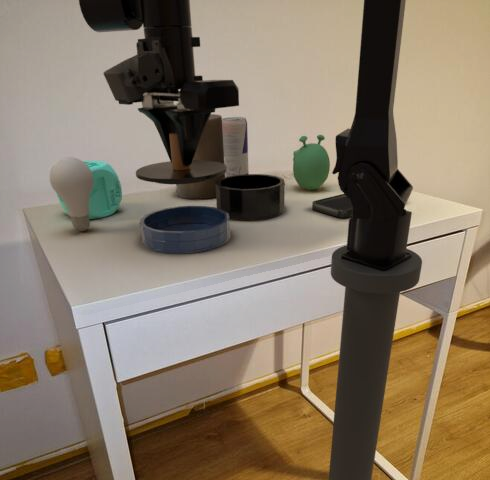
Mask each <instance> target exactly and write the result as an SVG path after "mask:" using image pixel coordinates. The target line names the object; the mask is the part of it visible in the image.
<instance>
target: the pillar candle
mask: <svg viewBox="0 0 490 480" xmlns="http://www.w3.org/2000/svg"><path fill="white" fill-rule="evenodd" d="M222 119H223V116H222V115H221V114H215V113H211V115H210V117H209V119H208V121H207V124H206V126H205V128H204V130H203V133H202V135H201V138H200V141H199V143H198V146H197V149H196V152H195V155H194V157H193V160H206V161H215V162H219V163H223V164H224V149H223V130H222ZM224 177H225V174H223V175H221V176H218V177H215V178H212V179H209V180H206V181H202V182H197V183H190V184H175V186H176V194H177V196H178V197H180V198H182V199H191V200H199V199H202V200H203V199H213V198H216V186H215V184H216V181H217V180H219V179H221V178H224Z"/></svg>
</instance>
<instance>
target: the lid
mask: <svg viewBox="0 0 490 480" xmlns="http://www.w3.org/2000/svg"><path fill="white" fill-rule="evenodd" d="M169 138H170V148H171V157H172V163H171V161H170V160H168V161H162V162H156V163H151V164H148V165H147V164H146V165H145V166H142V167H139V168H138V169H136V170H135V177H136V178H137V179H138V180H141V181H144V182H150V183H156V184H160V185H176V184H190V183H197V182H202V181H206V180H209V179H212V178H215V177H218V176H221V175H223V174H225V173H226V172H227V166H226V165H225V164H223V163H219V162H215V161H206V160H192V163H191V165H188V166H184V165H183V162H182V158H181V154H180V148H179V142H178V136H177V132H176V133H170V134H169Z"/></svg>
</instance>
